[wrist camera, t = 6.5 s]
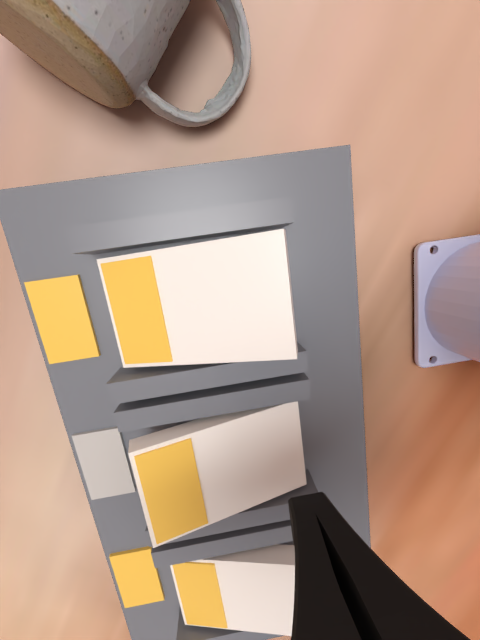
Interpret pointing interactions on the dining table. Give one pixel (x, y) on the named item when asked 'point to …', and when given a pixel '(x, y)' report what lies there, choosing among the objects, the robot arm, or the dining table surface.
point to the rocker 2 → (216, 468)
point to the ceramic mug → (119, 48)
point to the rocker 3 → (239, 590)
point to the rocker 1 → (203, 302)
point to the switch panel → (195, 379)
